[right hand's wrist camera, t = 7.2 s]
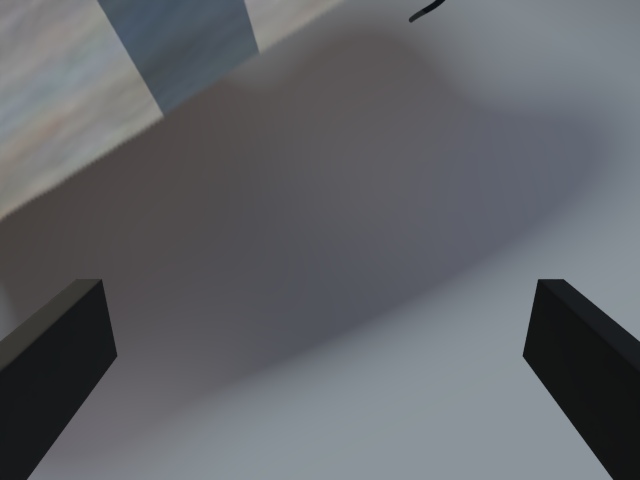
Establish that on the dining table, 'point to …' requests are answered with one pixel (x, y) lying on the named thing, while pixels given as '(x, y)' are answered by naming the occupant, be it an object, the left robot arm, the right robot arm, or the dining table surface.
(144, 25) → the dining table surface
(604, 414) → the right robot arm
